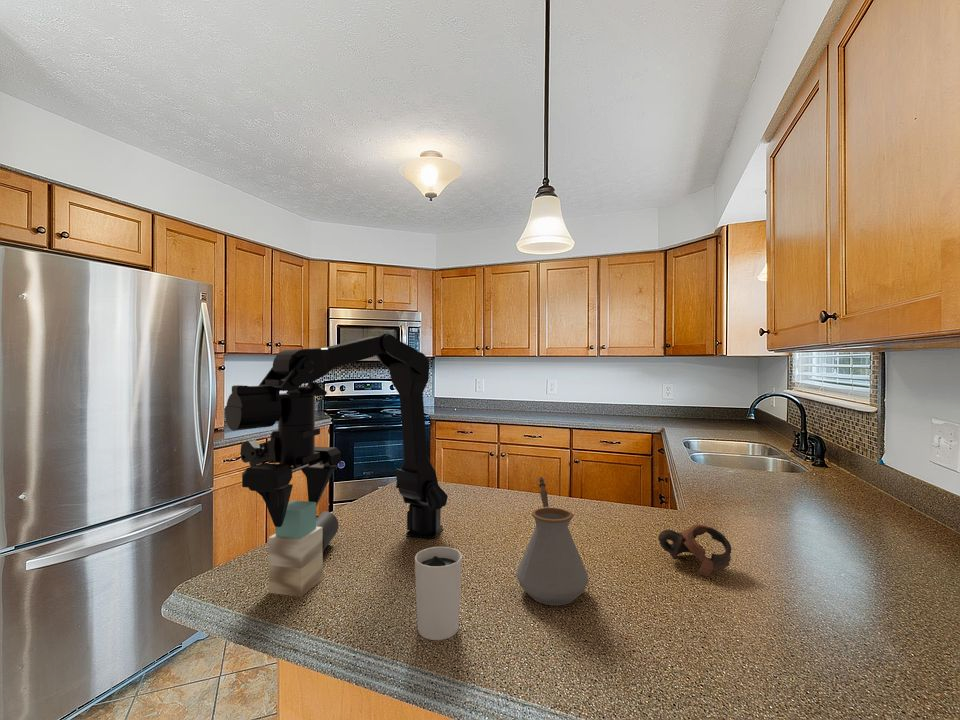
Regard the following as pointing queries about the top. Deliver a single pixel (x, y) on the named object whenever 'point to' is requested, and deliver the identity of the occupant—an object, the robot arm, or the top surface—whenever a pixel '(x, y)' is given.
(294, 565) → the tower middle block
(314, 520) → the teal block
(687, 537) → the brown curved piece
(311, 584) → the tower bottom block
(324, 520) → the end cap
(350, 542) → the top surface
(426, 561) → the white cup
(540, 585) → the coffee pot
